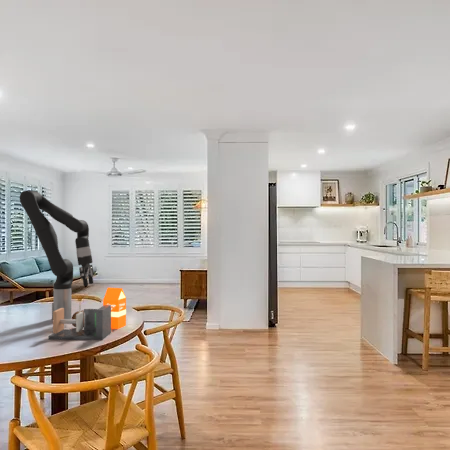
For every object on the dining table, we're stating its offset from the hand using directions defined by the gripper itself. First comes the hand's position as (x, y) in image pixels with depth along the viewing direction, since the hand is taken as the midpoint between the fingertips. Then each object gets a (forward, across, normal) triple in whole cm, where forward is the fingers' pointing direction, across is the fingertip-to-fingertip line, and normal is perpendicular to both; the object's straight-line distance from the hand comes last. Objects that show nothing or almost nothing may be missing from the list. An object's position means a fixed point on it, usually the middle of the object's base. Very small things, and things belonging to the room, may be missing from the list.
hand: (88, 284), depth 216 cm
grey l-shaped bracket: (+21, +32, +4) cm, 38 cm away
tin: (+20, +12, -1) cm, 24 cm away
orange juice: (+23, +14, +15) cm, 31 cm away
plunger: (+18, +32, -1) cm, 37 cm away
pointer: (+18, +33, +5) cm, 38 cm away
